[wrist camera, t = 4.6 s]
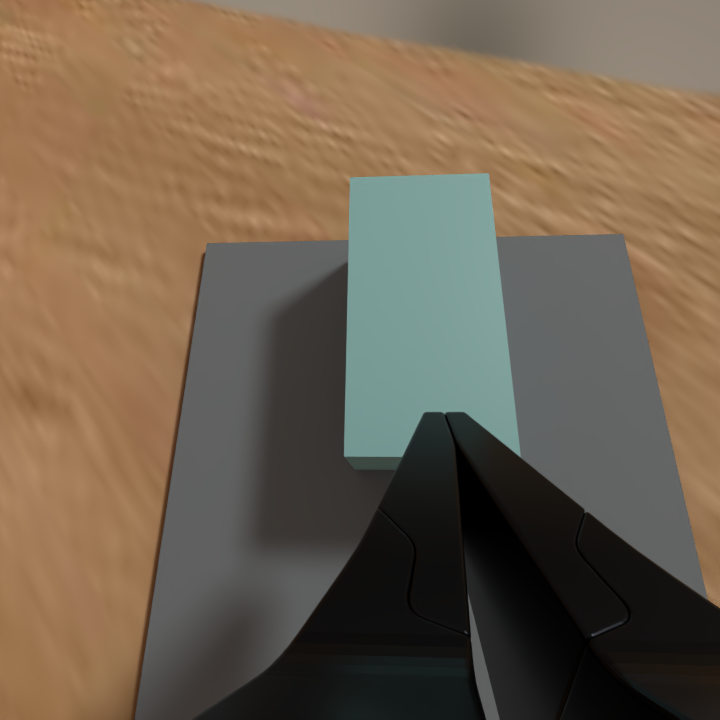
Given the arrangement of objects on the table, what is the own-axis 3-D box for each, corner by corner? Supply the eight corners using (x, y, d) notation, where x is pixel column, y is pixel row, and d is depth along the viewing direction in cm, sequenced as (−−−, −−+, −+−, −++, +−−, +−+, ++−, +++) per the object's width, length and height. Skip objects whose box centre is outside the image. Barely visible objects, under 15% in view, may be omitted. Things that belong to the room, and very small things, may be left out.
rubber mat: (757, 856, 11) (769, 868, 11) (125, 823, 12) (117, 833, 12) (618, 239, 18) (623, 234, 18) (210, 248, 19) (206, 243, 19)
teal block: (520, 457, 11) (488, 173, 13) (343, 456, 11) (349, 177, 14) (481, 470, 15) (463, 252, 18) (354, 469, 15) (357, 254, 18)
